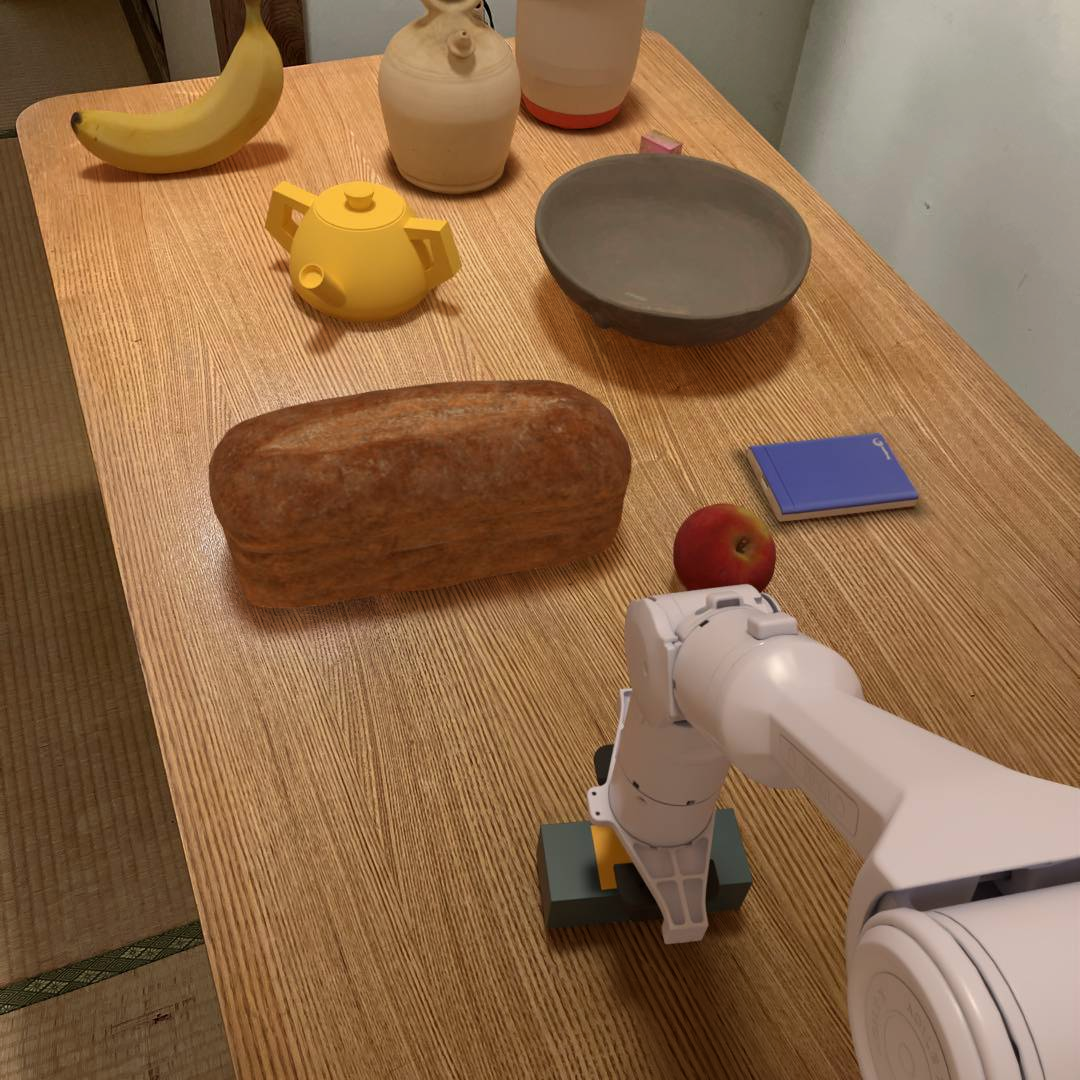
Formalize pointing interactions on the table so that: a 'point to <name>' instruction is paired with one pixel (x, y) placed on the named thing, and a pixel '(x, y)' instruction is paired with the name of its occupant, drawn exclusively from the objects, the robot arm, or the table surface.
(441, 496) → the bread
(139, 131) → the banana
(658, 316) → the bowl
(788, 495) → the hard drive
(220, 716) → the table surface
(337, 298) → the teapot
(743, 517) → the apple
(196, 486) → the table surface
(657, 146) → the perfume bottle
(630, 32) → the citrus juicer
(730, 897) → the packet
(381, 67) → the jug
